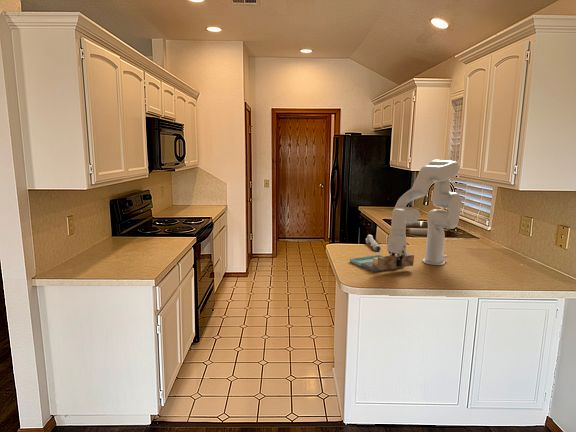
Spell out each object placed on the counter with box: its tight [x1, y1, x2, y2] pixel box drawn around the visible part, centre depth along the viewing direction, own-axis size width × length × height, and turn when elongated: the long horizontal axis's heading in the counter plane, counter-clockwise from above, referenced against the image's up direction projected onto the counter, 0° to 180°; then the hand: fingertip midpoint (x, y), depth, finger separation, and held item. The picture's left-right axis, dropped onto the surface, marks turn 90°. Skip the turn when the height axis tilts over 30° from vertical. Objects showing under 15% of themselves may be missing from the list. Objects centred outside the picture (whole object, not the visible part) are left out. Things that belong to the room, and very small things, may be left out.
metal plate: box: [361, 261, 405, 273], centre depth 229 cm, size 22×10×2 cm, turn 118°
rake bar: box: [377, 252, 415, 271], centre depth 220 cm, size 22×4×6 cm, turn 119°
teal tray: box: [349, 254, 384, 268], centre depth 238 cm, size 22×10×2 cm, turn 118°
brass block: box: [372, 257, 378, 267], centre depth 223 cm, size 4×4×4 cm
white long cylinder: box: [365, 234, 381, 252], centre depth 276 cm, size 5×7×25 cm
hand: (395, 264), depth 220 cm, fingers closed on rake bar, 4 cm apart
